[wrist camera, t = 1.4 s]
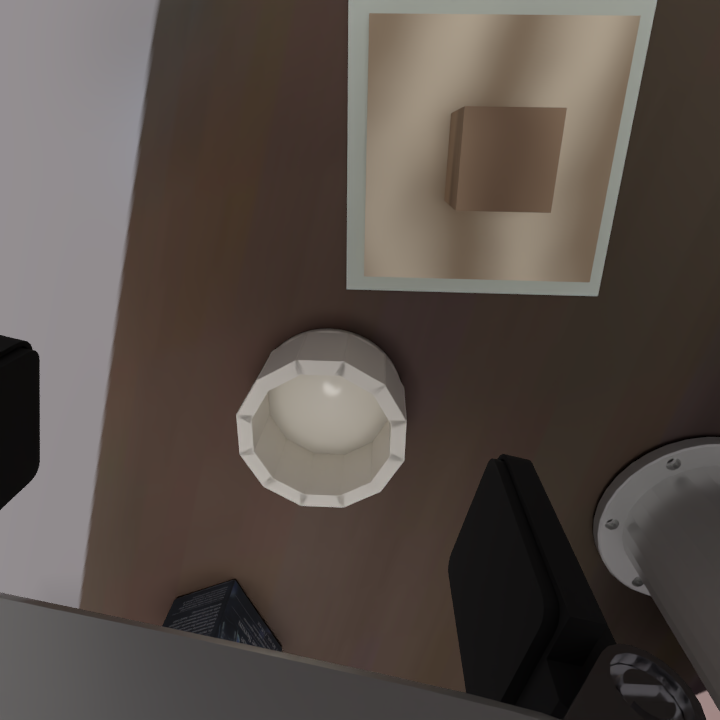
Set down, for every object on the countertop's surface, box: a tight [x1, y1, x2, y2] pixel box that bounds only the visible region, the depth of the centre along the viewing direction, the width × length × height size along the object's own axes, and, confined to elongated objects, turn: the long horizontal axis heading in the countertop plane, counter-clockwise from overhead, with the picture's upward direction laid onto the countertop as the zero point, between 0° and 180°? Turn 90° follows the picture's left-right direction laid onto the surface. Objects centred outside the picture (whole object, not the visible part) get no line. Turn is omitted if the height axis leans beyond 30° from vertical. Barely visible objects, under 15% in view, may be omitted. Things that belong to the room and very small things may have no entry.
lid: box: [364, 13, 641, 282], centre depth 24 cm, size 12×12×6 cm
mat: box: [347, 0, 657, 296], centre depth 26 cm, size 14×14×1 cm
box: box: [162, 580, 282, 652], centre depth 35 cm, size 8×6×11 cm
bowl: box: [236, 328, 407, 508], centre depth 30 cm, size 9×9×5 cm
